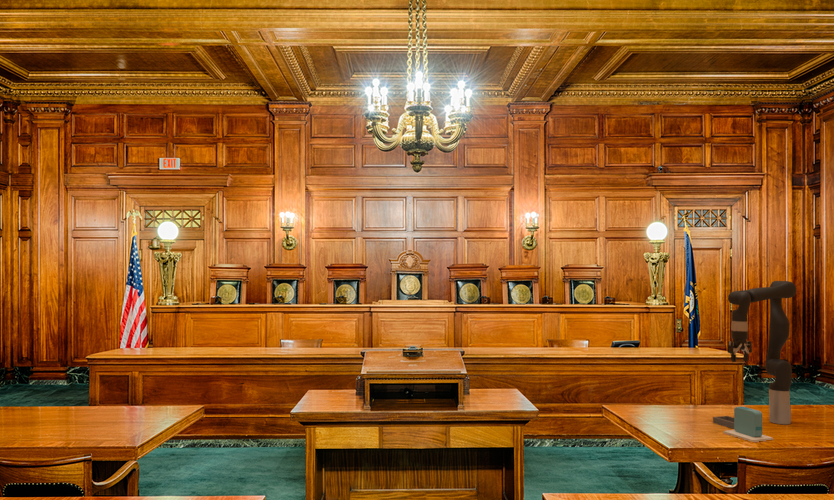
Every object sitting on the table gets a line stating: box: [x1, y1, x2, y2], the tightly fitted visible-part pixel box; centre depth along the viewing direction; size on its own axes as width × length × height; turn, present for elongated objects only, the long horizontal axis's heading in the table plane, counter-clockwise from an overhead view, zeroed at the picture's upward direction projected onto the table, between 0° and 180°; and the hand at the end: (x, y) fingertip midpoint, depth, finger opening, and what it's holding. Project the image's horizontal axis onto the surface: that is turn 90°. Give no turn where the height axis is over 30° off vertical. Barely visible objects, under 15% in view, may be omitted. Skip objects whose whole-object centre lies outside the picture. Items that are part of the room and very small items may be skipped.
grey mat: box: [722, 429, 774, 443], centre depth 272 cm, size 13×16×1 cm
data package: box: [733, 406, 763, 437], centre depth 273 cm, size 12×4×12 cm, turn 17°
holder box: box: [712, 415, 735, 430], centre depth 292 cm, size 10×17×3 cm, turn 20°
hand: (739, 361), depth 294 cm, fingers open, 8 cm apart
